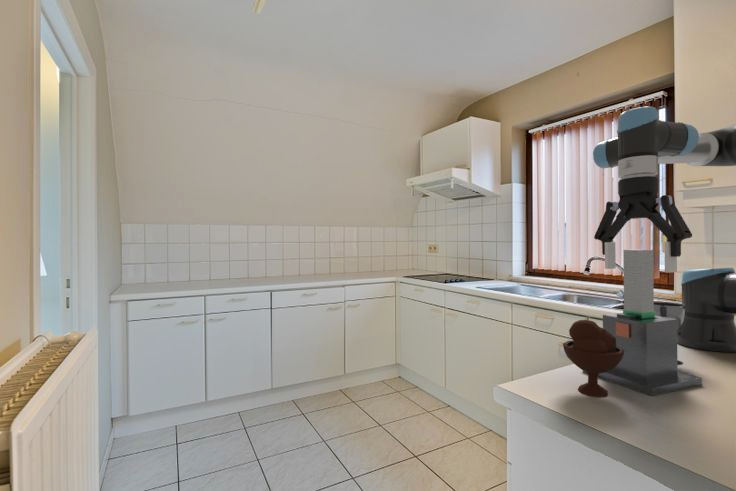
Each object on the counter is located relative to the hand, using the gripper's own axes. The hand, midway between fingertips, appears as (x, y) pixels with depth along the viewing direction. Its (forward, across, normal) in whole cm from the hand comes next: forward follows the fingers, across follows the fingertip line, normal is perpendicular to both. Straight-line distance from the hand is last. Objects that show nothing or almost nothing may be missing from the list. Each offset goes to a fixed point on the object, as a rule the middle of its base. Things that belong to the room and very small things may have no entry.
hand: (638, 270), depth 87 cm
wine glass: (+25, -6, +19) cm, 32 cm away
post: (+16, 0, 0) cm, 16 cm away
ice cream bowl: (+25, +2, -17) cm, 30 cm away
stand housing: (+25, 0, 0) cm, 25 cm away
